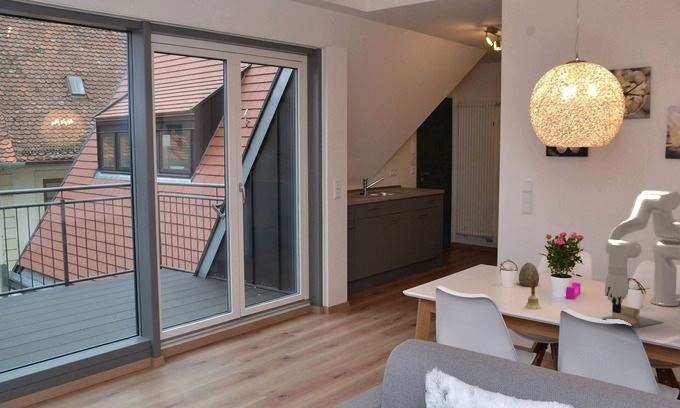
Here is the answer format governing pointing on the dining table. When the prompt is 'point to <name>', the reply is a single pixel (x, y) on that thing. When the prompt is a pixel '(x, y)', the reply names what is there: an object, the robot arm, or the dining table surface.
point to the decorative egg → (528, 275)
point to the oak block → (628, 314)
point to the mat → (641, 322)
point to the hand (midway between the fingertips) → (616, 312)
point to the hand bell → (533, 297)
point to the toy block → (573, 291)
